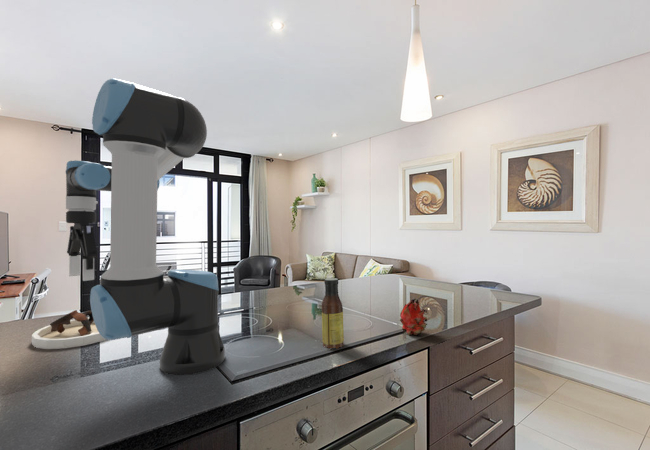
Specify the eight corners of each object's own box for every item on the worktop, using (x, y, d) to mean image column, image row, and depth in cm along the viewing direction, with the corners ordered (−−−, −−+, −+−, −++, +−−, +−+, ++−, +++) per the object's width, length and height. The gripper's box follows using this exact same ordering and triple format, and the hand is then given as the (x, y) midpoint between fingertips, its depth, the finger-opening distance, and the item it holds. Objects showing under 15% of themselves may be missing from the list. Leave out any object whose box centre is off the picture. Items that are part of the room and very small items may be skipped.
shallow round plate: (134, 333, 101) (134, 325, 101) (43, 356, 84) (43, 346, 84) (108, 319, 115) (108, 312, 115) (25, 337, 97) (25, 328, 97)
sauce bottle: (346, 345, 93) (347, 278, 93) (338, 353, 87) (339, 281, 87) (326, 341, 95) (327, 276, 95) (317, 348, 90) (318, 279, 90)
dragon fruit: (408, 342, 95) (409, 302, 95) (394, 333, 103) (394, 296, 103) (432, 339, 98) (432, 300, 98) (416, 330, 106) (416, 295, 106)
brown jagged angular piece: (75, 341, 93) (59, 318, 92) (54, 352, 95) (38, 329, 94) (108, 320, 104) (94, 299, 103) (89, 330, 107) (75, 310, 106)
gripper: (109, 210, 94) (109, 280, 94) (83, 212, 110) (83, 272, 110) (79, 209, 89) (79, 284, 89) (55, 211, 104) (55, 275, 104)
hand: (81, 278), depth 99 cm, fingers open, 13 cm apart
